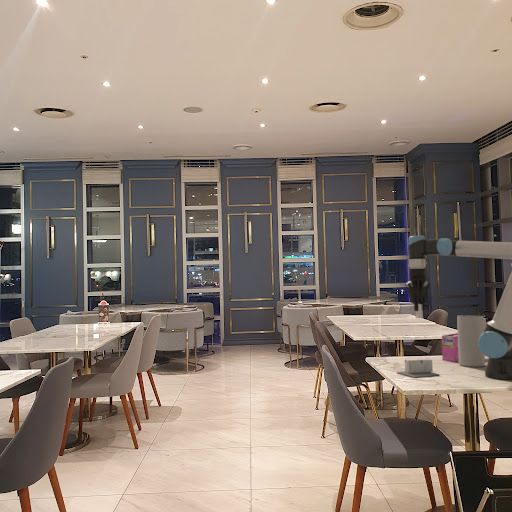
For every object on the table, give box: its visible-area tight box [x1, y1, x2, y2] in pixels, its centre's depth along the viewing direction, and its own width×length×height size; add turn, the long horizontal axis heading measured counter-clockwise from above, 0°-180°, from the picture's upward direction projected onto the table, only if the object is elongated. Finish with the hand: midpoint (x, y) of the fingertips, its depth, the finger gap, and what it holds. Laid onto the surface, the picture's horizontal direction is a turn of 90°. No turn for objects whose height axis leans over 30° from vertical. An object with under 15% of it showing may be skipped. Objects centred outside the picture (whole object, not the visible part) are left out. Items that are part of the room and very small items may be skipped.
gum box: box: [441, 332, 459, 363], centre depth 288 cm, size 24×8×14 cm, turn 130°
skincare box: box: [404, 358, 434, 373], centre depth 246 cm, size 6×4×12 cm
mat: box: [396, 370, 440, 379], centre depth 243 cm, size 13×14×1 cm
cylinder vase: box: [456, 315, 486, 368], centre depth 266 cm, size 12×12×25 cm
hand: (418, 317), depth 245 cm, fingers closed
